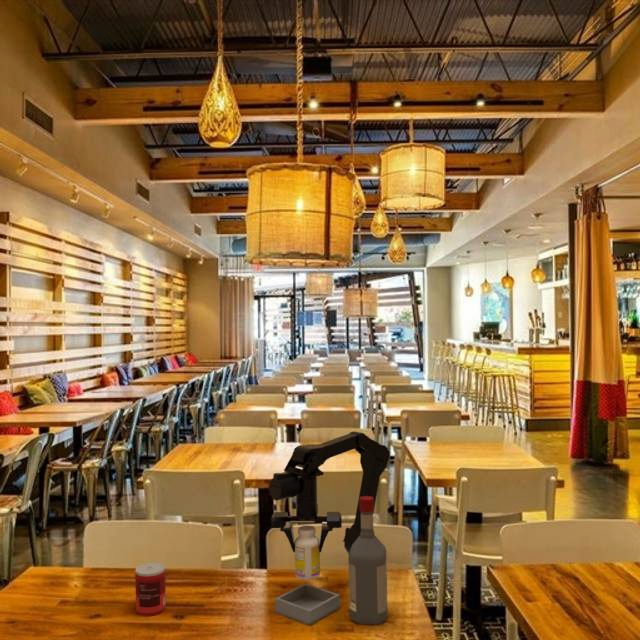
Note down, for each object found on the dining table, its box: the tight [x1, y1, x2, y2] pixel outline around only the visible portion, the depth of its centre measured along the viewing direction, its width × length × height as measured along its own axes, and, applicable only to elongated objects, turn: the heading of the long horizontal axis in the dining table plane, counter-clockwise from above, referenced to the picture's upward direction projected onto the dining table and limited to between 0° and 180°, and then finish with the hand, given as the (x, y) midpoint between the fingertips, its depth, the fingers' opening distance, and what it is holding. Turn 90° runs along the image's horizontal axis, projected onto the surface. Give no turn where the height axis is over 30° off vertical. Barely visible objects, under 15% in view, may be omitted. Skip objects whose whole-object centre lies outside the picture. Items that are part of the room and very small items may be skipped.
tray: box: [274, 582, 341, 626], centre depth 164 cm, size 12×12×4 cm
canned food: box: [134, 562, 167, 617], centre depth 166 cm, size 8×8×11 cm
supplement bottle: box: [294, 525, 321, 581], centre depth 169 cm, size 7×7×13 cm
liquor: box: [347, 496, 389, 626], centre depth 160 cm, size 9×9×30 cm
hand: (307, 551), depth 169 cm, fingers closed on supplement bottle, 7 cm apart
